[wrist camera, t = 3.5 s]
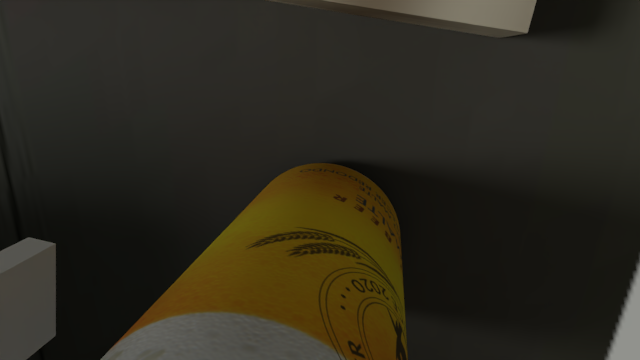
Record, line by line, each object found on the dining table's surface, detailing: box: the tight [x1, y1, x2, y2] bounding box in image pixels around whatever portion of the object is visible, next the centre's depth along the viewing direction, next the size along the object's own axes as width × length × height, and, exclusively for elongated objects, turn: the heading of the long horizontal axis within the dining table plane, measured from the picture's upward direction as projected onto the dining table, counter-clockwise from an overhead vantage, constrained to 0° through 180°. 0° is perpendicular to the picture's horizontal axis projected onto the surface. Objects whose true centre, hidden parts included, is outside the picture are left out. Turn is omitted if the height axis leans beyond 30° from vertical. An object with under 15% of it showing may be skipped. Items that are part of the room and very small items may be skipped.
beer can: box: [100, 163, 408, 360], centre depth 12 cm, size 6×6×15 cm
